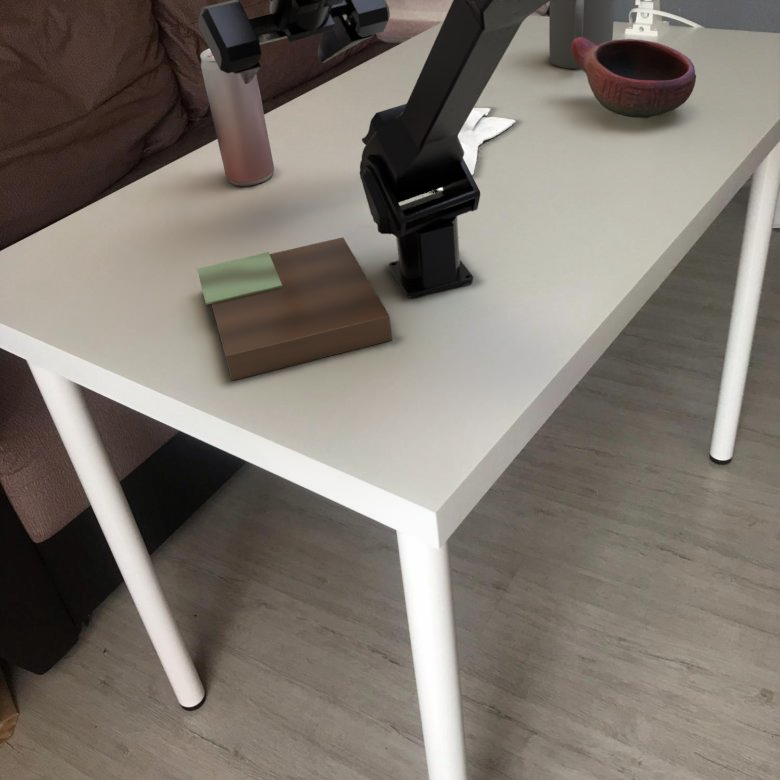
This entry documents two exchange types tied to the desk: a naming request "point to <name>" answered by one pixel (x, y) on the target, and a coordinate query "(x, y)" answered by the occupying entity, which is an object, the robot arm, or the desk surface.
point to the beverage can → (238, 124)
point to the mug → (578, 27)
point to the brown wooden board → (293, 307)
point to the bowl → (635, 75)
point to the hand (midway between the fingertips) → (283, 69)
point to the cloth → (479, 133)
